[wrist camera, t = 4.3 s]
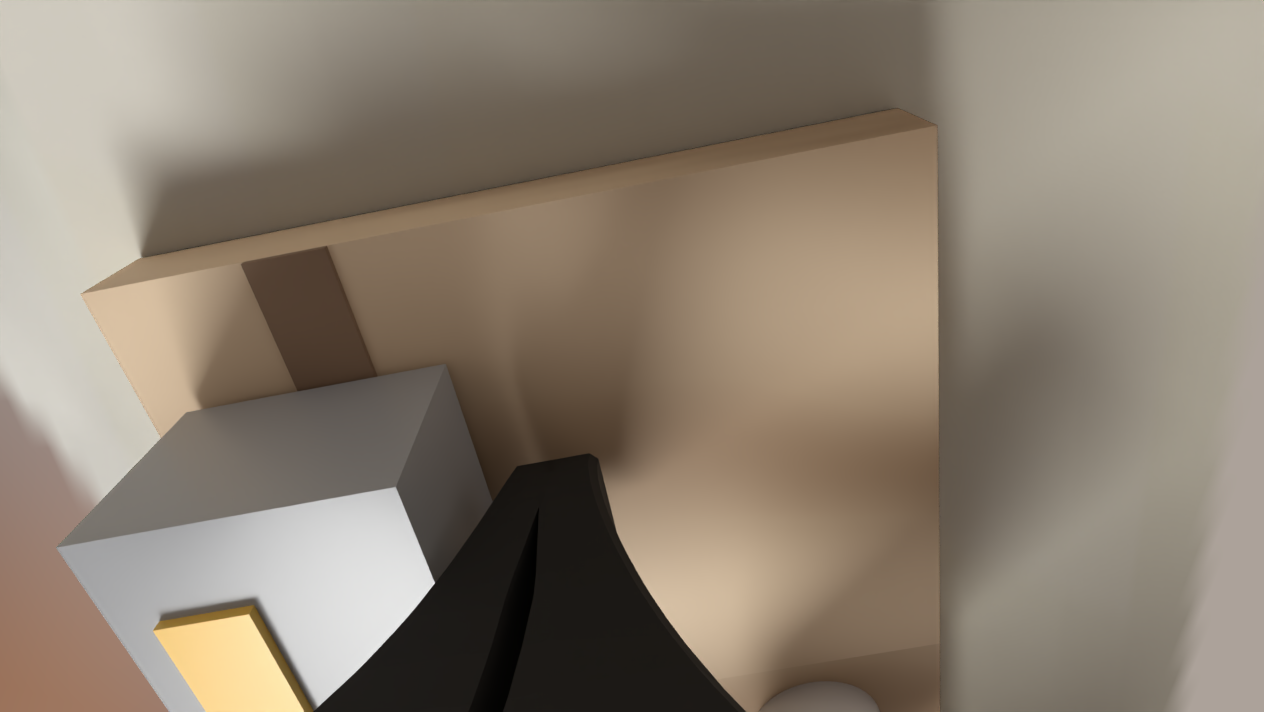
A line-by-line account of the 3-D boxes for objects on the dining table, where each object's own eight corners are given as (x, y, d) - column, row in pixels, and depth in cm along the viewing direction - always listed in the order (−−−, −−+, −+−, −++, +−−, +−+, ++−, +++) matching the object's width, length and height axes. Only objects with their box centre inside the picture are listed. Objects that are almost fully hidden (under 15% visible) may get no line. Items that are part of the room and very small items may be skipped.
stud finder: (529, 611, 13) (510, 781, 10) (311, 648, 13) (234, 824, 11) (445, 364, 11) (392, 495, 8) (186, 412, 11) (46, 556, 8)
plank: (915, 750, 18) (942, 817, 17) (428, 825, 19) (414, 896, 17) (897, 108, 11) (941, 127, 10) (139, 258, 12) (75, 297, 10)
